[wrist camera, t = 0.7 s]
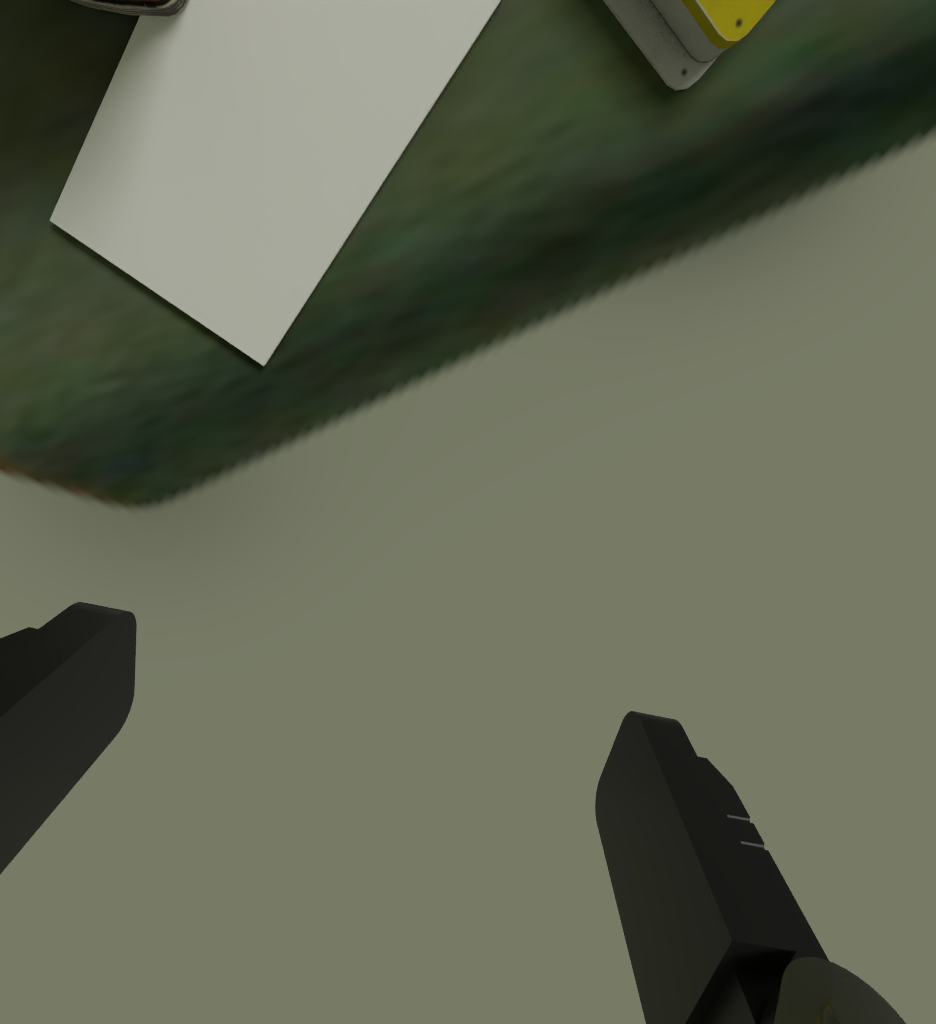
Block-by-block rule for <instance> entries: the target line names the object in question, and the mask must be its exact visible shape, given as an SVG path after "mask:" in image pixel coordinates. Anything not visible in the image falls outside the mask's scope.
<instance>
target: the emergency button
mask: <svg viewBox="0 0 936 1024" xmlns="http://www.w3.org/2000/svg"><path fill="white" fill-rule="evenodd" d="M603 1H604V2H605V4H606V5H607V6H608V8H609V9H610V10H611V12H612V13H613V14H614V16H615V17H616V18H617V20H618V21H619V22H620V24H621V25H622V26H623V28H624V29H625V30H626V32H627V33H628V34H629V36H630V37H631V38H632V40H633V41H634V42H635V44H636V45H637V46H638V48H639V49H640V50H641V52H642V53H643V54H644V56H645V57H646V58H647V60H648V61H649V62H650V64H651V65H652V66H653V68H654V69H655V70H656V72H657V73H658V74H659V76H660V77H661V78H662V80H663V81H664V82H665V84H666V85H667V86H669V87H670V88H672V89H674V90H675V91H676V90H682V89H687V88H689V87H690V86H691V85H693V84H694V83H695V82H696V81H698V80H699V79H700V78H701V76H702V75H703V74H704V73H705V72H706V70H707V69H708V68H709V67H710V66H711V64H712V63H713V62H714V61H715V60H716V59H717V57H718V56H719V55H720V54H721V53H722V52H723V51H724V50H726V49H727V48H730V47H732V46H733V45H734V44H736V43H737V42H739V41H740V40H741V39H742V38H743V37H744V36H746V35H747V34H748V33H749V32H750V30H751V29H752V28H753V27H754V26H755V24H756V23H757V22H758V21H759V20H760V19H761V17H762V16H763V15H764V14H765V13H766V11H767V10H768V9H769V8H770V7H771V5H772V4H773V3H774V2H775V1H776V0H603Z"/></svg>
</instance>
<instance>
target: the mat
mask: <svg viewBox="0 0 936 1024" xmlns="http://www.w3.org/2000/svg"><path fill="white" fill-rule="evenodd" d="M500 2H501V0H188V2H187V4H186V6H185V8H184V9H183V10H182V11H180V12H179V13H178V14H177V15H173V16H169V17H164V16H141V15H140V17H139V20H138V22H137V24H136V26H135V29H134V31H133V33H132V35H131V38H130V40H129V42H128V44H127V47H126V49H125V51H124V53H123V56H122V58H121V60H120V62H119V65H118V67H117V69H116V71H115V74H114V76H113V78H112V81H111V83H110V85H109V87H108V90H107V92H106V94H105V96H104V99H103V101H102V103H101V105H100V108H99V110H98V112H97V114H96V117H95V119H94V121H93V123H92V126H91V128H90V130H89V132H88V135H87V137H86V139H85V141H84V144H83V146H82V148H81V151H80V153H79V155H78V157H77V160H76V162H75V164H74V166H73V169H72V171H71V173H70V175H69V178H68V180H67V182H66V184H65V187H64V189H63V191H62V193H61V196H60V198H59V200H58V202H57V205H56V207H55V209H54V212H53V214H52V216H51V218H50V221H51V222H53V223H54V224H55V225H57V226H58V227H60V228H61V229H63V230H64V231H66V232H67V233H69V234H70V235H72V236H73V237H75V238H76V239H78V240H79V241H80V242H82V243H83V244H85V245H86V246H88V247H89V248H91V249H92V250H94V251H95V252H97V253H98V254H100V255H101V256H103V257H104V258H105V259H107V260H108V261H110V262H111V263H113V264H114V265H116V266H117V267H119V268H120V269H122V270H123V271H125V272H126V273H128V274H129V275H130V276H132V277H133V278H135V279H136V280H138V281H139V282H141V283H142V284H144V285H145V286H147V287H148V288H150V289H151V290H153V291H154V292H155V293H157V294H158V295H160V296H161V297H163V298H164V299H166V300H167V301H169V302H170V303H172V304H173V305H175V306H176V307H178V308H179V309H180V310H182V311H183V312H185V313H186V314H188V315H189V316H191V317H192V318H194V319H195V320H197V321H198V322H200V323H201V324H203V325H204V326H205V327H207V328H208V329H210V330H211V331H213V332H214V333H216V334H217V335H219V336H220V337H222V338H223V339H225V340H226V341H228V342H229V343H230V344H232V345H233V346H235V347H236V348H238V349H239V350H241V351H242V352H244V353H245V354H247V355H248V356H250V357H251V358H253V359H254V360H255V361H257V362H258V363H260V364H261V365H263V366H265V365H266V363H267V362H268V360H269V359H270V357H271V355H272V354H273V352H274V351H275V349H276V348H277V346H278V345H279V343H280V342H281V340H282V338H283V337H284V335H285V334H286V332H287V331H288V329H289V328H290V326H291V325H292V323H293V321H294V320H295V318H296V317H297V315H298V314H299V312H300V311H301V309H302V308H303V306H304V304H305V303H306V301H307V300H308V298H309V297H310V295H311V294H312V292H313V291H314V289H315V287H316V286H317V284H318V283H319V281H320V280H321V278H322V277H323V275H324V274H325V272H326V270H327V269H328V267H329V266H330V264H331V263H332V261H333V260H334V258H335V257H336V255H337V253H338V252H339V250H340V249H341V247H342V246H343V244H344V243H345V241H346V240H347V238H348V236H349V235H350V233H351V232H352V230H353V229H354V227H355V226H356V224H357V223H358V221H359V219H360V218H361V216H362V215H363V213H364V212H365V210H366V209H367V207H368V206H369V204H370V202H371V201H372V199H373V198H374V196H375V195H376V193H377V192H378V190H379V189H380V187H381V185H382V184H383V182H384V181H385V179H386V178H387V176H388V175H389V173H390V172H391V170H392V168H393V167H394V165H395V164H396V162H397V161H398V159H399V158H400V156H401V155H402V153H403V151H404V150H405V148H406V147H407V145H408V144H409V142H410V141H411V139H412V138H413V136H414V134H415V133H416V131H417V130H418V128H419V127H420V125H421V124H422V122H423V121H424V119H425V117H426V116H427V114H428V113H429V111H430V110H431V108H432V107H433V105H434V104H435V102H436V100H437V99H438V97H439V96H440V94H441V93H442V91H443V90H444V88H445V87H446V85H447V83H448V82H449V80H450V79H451V77H452V76H453V74H454V73H455V71H456V70H457V68H458V66H459V65H460V63H461V62H462V60H463V59H464V57H465V56H466V54H467V53H468V51H469V49H470V48H471V46H472V45H473V43H474V42H475V40H476V39H477V37H478V36H479V34H480V32H481V31H482V29H483V28H484V26H485V25H486V23H487V22H488V20H489V19H490V17H491V15H492V14H493V12H494V11H495V9H496V8H497V6H498V5H499V3H500Z"/></svg>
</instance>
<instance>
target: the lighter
mask: <svg viewBox="0 0 936 1024" xmlns="http://www.w3.org/2000/svg"><path fill="white" fill-rule="evenodd" d="M70 1H73V2H76V3H78V4H81V5H84V6H87V7H90V8H96V9H101V10H106V11H111V12H117V13H122V14H127V15H141V16H164V17H169V16H173V15H177V14H178V13H179V12H180V11H182V10H183V9H184V8H185V6H186V4H187V2H188V0H70Z"/></svg>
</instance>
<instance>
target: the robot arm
mask: <svg viewBox="0 0 936 1024" xmlns="http://www.w3.org/2000/svg"><path fill="white" fill-rule="evenodd" d="M135 655H136V619H135V616H134V615H133V613H131V612H129V611H124V610H119V609H114V608H108V607H103V606H98V605H93V604H88V603H82V602H78V603H75V604H73V605H71V606H69V607H68V608H67V609H65V610H64V611H63V612H61V613H60V614H58V615H57V616H56V617H54V618H53V619H52V620H50V621H49V622H48V623H46V624H45V625H44V626H42V627H41V628H39V629H35V628H30V627H28V628H26V629H23V630H21V631H18V632H16V633H13V634H10V635H8V636H5V637H3V638H0V874H1V873H2V872H3V870H4V869H5V868H6V867H7V866H8V864H9V863H10V862H11V861H12V860H13V859H14V857H15V856H16V855H17V854H18V853H19V851H20V850H21V849H22V848H23V846H24V845H25V844H26V843H27V842H28V841H29V839H30V838H31V837H32V836H33V835H34V833H35V832H36V831H37V830H38V829H39V827H40V826H41V825H42V824H43V823H44V821H45V820H46V819H47V818H48V817H49V815H50V814H51V813H52V812H53V811H54V809H55V808H56V807H57V806H58V804H60V802H61V801H62V800H63V799H64V798H65V796H66V795H67V794H68V793H69V791H70V790H71V789H72V788H73V787H74V785H75V784H76V783H77V782H78V781H79V780H80V778H81V777H82V776H83V775H84V774H85V772H86V771H87V770H88V769H89V768H90V766H91V765H92V764H93V763H94V762H95V760H96V759H97V758H98V757H99V756H100V754H101V753H102V752H103V751H104V750H105V748H106V747H107V746H108V745H109V744H110V743H111V741H112V740H113V739H114V738H115V737H116V735H117V734H118V733H119V731H120V730H121V728H122V726H123V725H124V723H125V721H126V719H127V717H128V714H129V712H130V709H131V706H132V702H133V697H134V686H135ZM595 808H596V809H595V810H596V821H597V825H598V829H599V834H600V837H601V842H602V845H603V850H604V854H605V858H606V862H607V866H608V870H609V874H610V878H611V882H612V887H613V891H614V895H615V899H616V903H617V907H618V911H619V915H620V919H621V923H622V927H623V931H624V935H625V940H626V944H627V948H628V952H629V956H630V960H631V964H632V968H633V972H634V976H635V980H636V984H637V988H638V993H639V996H640V1001H641V1005H642V1009H643V1012H644V1017H645V1021H646V1024H906V1023H905V1022H904V1020H903V1019H902V1018H901V1017H900V1016H899V1014H898V1013H897V1012H896V1011H895V1010H894V1009H893V1008H892V1007H891V1005H890V1004H889V1003H888V1002H887V1001H886V1000H885V999H884V998H883V997H882V996H881V995H879V993H877V992H876V991H875V990H874V989H873V988H872V987H871V986H869V985H868V984H867V983H865V982H864V981H863V980H862V979H860V978H859V977H858V976H856V975H854V974H853V973H851V972H850V971H848V970H847V969H844V968H843V967H841V966H839V965H837V964H835V963H833V962H830V961H829V960H828V958H827V956H826V954H825V953H824V951H823V949H822V947H821V945H820V944H819V942H818V940H817V938H816V936H815V934H814V933H813V931H812V929H811V927H810V925H809V924H808V922H807V920H806V918H805V916H804V915H803V913H802V911H801V909H800V907H799V905H798V904H797V902H796V900H795V898H794V896H793V895H792V893H791V891H790V889H789V887H788V885H787V884H786V882H785V880H784V878H783V876H782V875H781V873H780V871H779V869H778V867H777V865H776V864H775V862H774V860H773V858H772V856H771V855H770V853H769V851H768V850H765V849H764V842H763V840H762V838H761V836H760V835H759V833H758V831H757V829H756V827H755V825H754V824H753V823H750V821H749V818H750V816H749V815H748V813H747V811H746V809H745V808H744V805H743V804H742V802H741V800H740V798H739V796H738V795H737V793H736V791H735V790H734V788H733V786H732V785H731V784H730V783H729V782H728V781H727V779H726V778H725V777H724V776H723V775H722V774H721V773H720V772H719V771H718V770H717V769H716V768H715V767H714V766H713V765H712V764H711V762H710V761H709V760H708V759H707V758H702V757H697V755H696V753H695V751H694V749H693V747H692V745H691V743H690V741H689V739H688V737H687V735H686V733H685V731H684V729H683V727H682V725H681V724H680V723H679V722H678V721H677V720H675V719H670V718H664V717H660V716H654V715H649V714H644V713H639V712H634V711H631V712H629V713H627V715H626V716H625V717H624V719H623V722H622V724H621V726H620V729H619V731H618V734H617V736H616V739H615V741H614V744H613V747H612V749H611V752H610V754H609V757H608V759H607V762H606V764H605V767H604V769H603V772H602V775H601V777H600V780H599V783H598V787H597V792H596V804H595Z"/></svg>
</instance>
